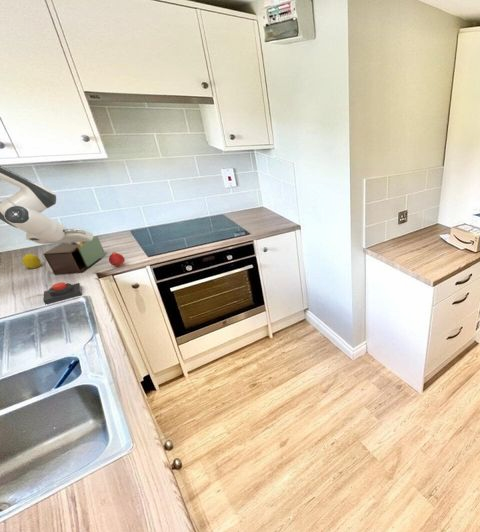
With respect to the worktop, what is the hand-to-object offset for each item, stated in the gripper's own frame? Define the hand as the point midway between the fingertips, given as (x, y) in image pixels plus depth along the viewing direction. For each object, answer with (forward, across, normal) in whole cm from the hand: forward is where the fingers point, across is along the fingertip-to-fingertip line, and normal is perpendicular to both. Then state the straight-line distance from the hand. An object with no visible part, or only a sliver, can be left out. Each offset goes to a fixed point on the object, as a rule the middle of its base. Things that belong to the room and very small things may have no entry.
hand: (76, 243), depth 150 cm
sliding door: (+15, 0, +4) cm, 15 cm away
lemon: (+12, +24, +7) cm, 28 cm away
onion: (+10, -13, +10) cm, 19 cm away
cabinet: (+12, +6, +7) cm, 15 cm away
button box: (-9, -5, +28) cm, 30 cm away
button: (-11, -5, +25) cm, 28 cm away
